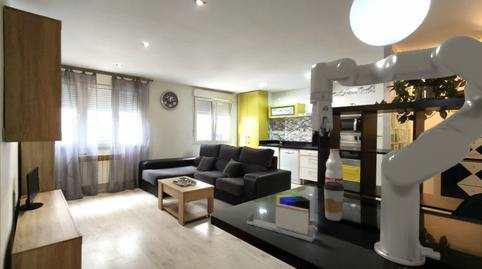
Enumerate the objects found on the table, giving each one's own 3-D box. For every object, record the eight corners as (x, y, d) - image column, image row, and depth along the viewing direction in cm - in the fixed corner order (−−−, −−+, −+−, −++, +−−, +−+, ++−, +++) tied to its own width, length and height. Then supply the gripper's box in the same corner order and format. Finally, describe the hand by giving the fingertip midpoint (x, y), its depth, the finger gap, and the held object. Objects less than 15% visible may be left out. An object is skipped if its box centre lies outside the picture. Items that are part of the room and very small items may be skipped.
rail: (314, 237, 79) (315, 229, 79) (311, 241, 76) (311, 232, 76) (251, 220, 94) (251, 213, 94) (246, 223, 91) (246, 216, 91)
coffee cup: (346, 218, 98) (347, 183, 98) (339, 223, 92) (340, 186, 92) (327, 213, 104) (328, 180, 104) (319, 218, 98) (320, 183, 98)
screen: (308, 233, 79) (308, 209, 79) (307, 234, 78) (307, 210, 78) (276, 224, 86) (277, 203, 86) (275, 226, 85) (275, 204, 85)
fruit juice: (344, 197, 131) (345, 149, 131) (340, 201, 124) (340, 150, 124) (328, 194, 137) (328, 148, 137) (322, 198, 130) (323, 149, 130)
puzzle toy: (286, 227, 87) (287, 202, 87) (275, 218, 97) (276, 195, 97) (309, 225, 90) (309, 200, 90) (296, 216, 100) (297, 193, 100)
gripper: (341, 95, 71) (339, 149, 72) (324, 102, 89) (323, 146, 89) (317, 94, 72) (315, 148, 72) (304, 102, 89) (303, 145, 89)
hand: (319, 147), depth 80 cm, fingers open, 9 cm apart
